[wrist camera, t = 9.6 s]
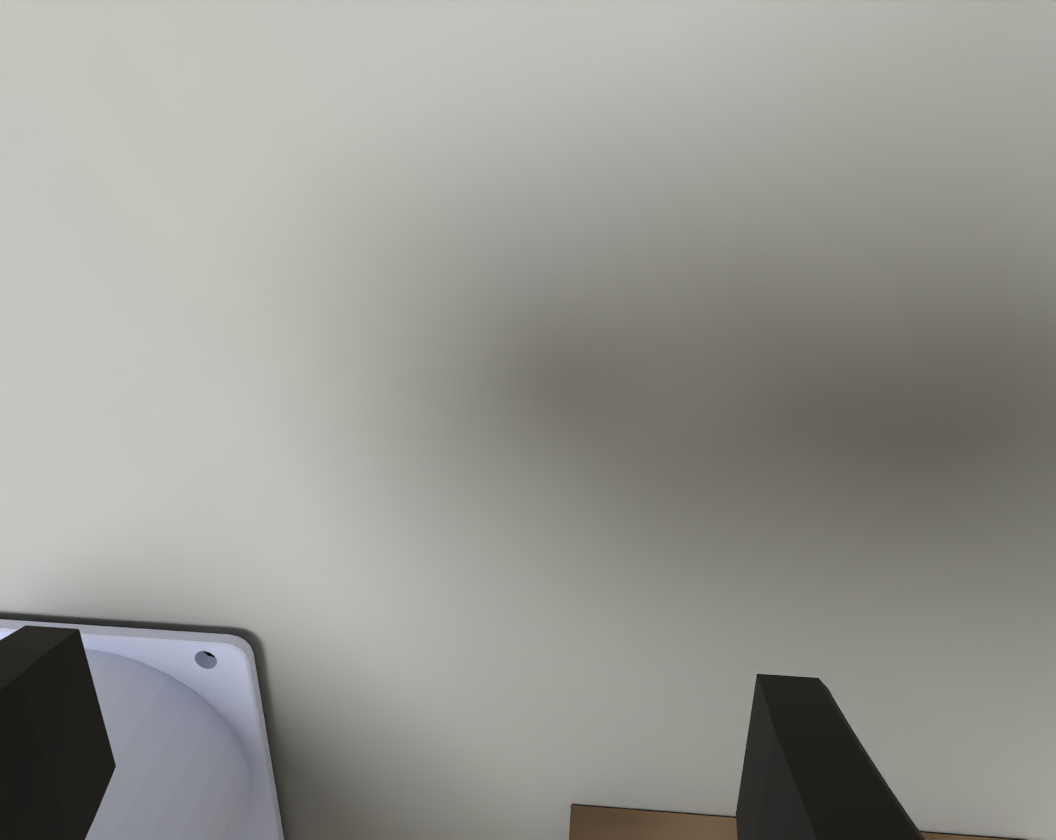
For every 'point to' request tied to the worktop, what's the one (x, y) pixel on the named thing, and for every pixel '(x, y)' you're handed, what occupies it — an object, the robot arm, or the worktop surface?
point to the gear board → (668, 826)
